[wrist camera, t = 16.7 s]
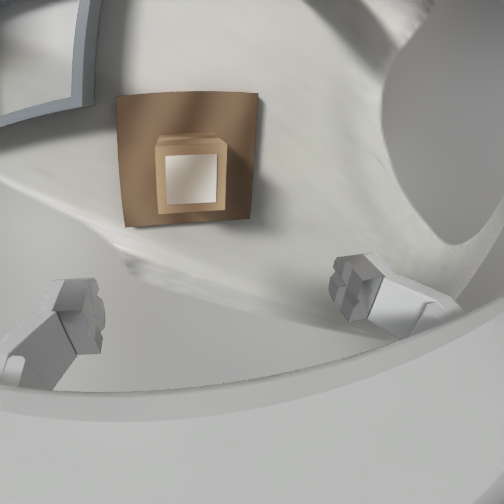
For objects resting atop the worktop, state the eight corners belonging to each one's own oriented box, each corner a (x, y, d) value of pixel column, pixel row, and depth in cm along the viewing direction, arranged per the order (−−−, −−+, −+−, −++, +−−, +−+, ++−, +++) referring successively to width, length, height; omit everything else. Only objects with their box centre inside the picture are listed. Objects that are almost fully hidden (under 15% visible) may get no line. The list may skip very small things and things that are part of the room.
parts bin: (109, -35, 13) (102, -51, 10) (94, 105, 21) (82, 106, 18) (-17, 9, 9) (-35, 4, 6) (-27, 137, 17) (-47, 144, 14)
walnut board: (255, 93, 25) (258, 93, 24) (247, 214, 31) (249, 218, 30) (119, 96, 22) (116, 96, 21) (126, 222, 28) (125, 227, 27)
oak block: (213, 132, 25) (227, 144, 19) (212, 183, 27) (225, 210, 21) (159, 134, 24) (154, 147, 18) (160, 186, 26) (158, 214, 20)
